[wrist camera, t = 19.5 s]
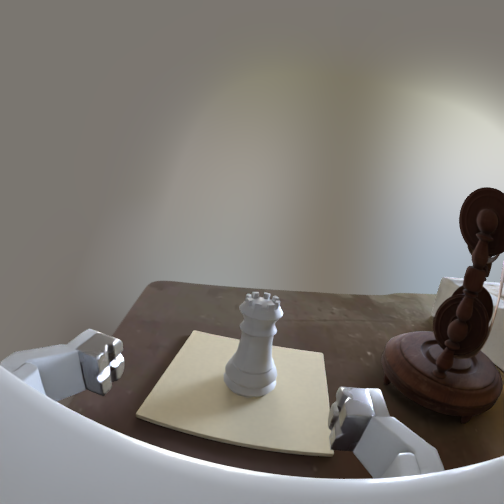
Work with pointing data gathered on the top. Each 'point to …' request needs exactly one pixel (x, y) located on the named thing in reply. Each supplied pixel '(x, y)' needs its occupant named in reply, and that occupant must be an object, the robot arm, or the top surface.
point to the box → (500, 339)
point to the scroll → (457, 327)
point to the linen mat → (243, 399)
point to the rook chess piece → (255, 348)
